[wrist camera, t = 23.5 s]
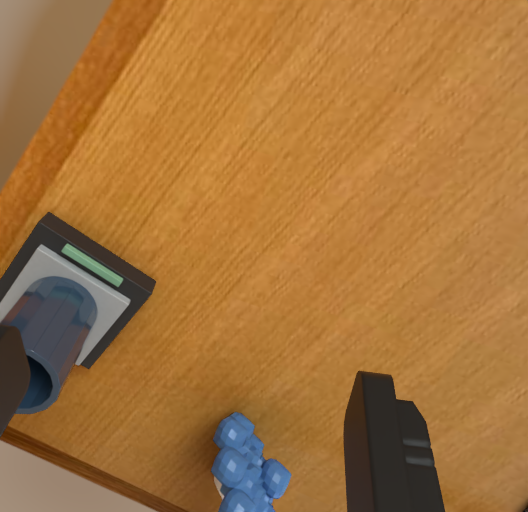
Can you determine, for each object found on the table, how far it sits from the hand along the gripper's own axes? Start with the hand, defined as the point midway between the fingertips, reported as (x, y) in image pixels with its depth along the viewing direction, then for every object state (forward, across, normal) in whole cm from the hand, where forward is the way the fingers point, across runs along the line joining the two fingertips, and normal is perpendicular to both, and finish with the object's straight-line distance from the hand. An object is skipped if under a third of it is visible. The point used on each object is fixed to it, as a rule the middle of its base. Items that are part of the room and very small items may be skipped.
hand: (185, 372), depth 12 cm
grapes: (+23, -2, +34) cm, 41 cm away
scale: (+23, +15, +19) cm, 33 cm away
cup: (+21, +15, +18) cm, 31 cm away
